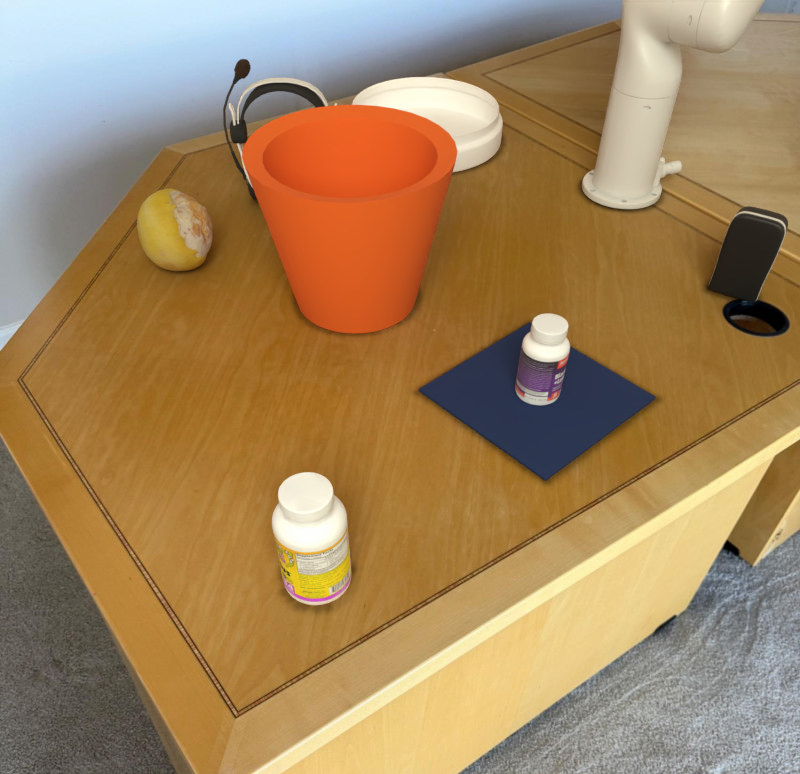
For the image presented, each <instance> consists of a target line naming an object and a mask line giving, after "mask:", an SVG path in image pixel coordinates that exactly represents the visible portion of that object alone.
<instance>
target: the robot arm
mask: <svg viewBox="0 0 800 774" xmlns="http://www.w3.org/2000/svg"><path fill="white" fill-rule="evenodd" d="M765 1H766V0H621V12H620V13H621V17H620V18H621V20H620V36H619V46H618V52H617V57H616V62H615V68H614V73H613V77H612V83H611V88H610V92H609V98H608V102H607V106H606V107H607V108H606V111H605V117H604V122H603V127H602V132H601V137H600V142H599V146H598V147H599V148H598V151H597V156H596V160H595V161H596V162H595V166H594V169H592V170H590V171H588V172H587V173H586V174H585V175H584V176H583V178H582V182H581V190H582V192H583V194H584V195H585V196H586V197H587V199H590V200H591V201H592V202H594V203H597V204H598V205H601V206H604V207H607V208H610V209H619V210H639V209H644V208H648V207H650V206H653V205H654V204H656V203H657V202H658V201H659V200H660V198H661V195H662V192H663V185H662V183H661V182H660V181H661V179H664V178H665V177H666V176H670V175H677V174H679V173H681V172H682V168H683V164H682V161H681V160H680V159H676V160H671V161H668V162H666V158H665V156H662V154H663V151H664V150H663V149H664V146H665V143H666V138H667V135H668V131H669V127H670V124H671V121H672V116H673V113H674V109H675V105H676V103H677V102H676V101H677V99H678V94H679V90H680V86H681V83H682V77H683V56H682V51H681V46H684V47H688V48H692V49H695V50H698V51H702V52H706V53H710V54H723V53H726V52H728V51H730V50H731V49H732V48H734V47H735V46H736V45H737V44H738V43H739V41H740V40H741V39H742V38H743V37H744V36H745V33H746V32H747V30H748V29H749V27H750V26H751V24H752V23H753V21H754V20H755V18H756V16H757V15H758V13H759V11H760V10H761V9H762V6H763V5H764V3H765ZM680 45H681V46H680Z"/></svg>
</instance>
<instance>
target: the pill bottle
mask: <svg viewBox="0 0 800 774" xmlns="http://www.w3.org/2000/svg"><path fill="white" fill-rule="evenodd" d="M531 323H532V326H531V332H529V333H528V334H527V335H526V336H525V337H524V339H523V343H522V348H521V355H520V361H519V367H518V373H517V379H516V386H515V390H516V393H517V395H518V397H519V398H520V399H521V400H523V401H524V402H526V403H529V404H532V405H548V404H551V403H553V402H554V401H556V400H557V399H558V397H559V395H560V392H561V388H562V383H563V379H564V374H565V370H566V365H567V361H568V357H569V352H570V346H571V343H570V340H569V339H568V337H567V336H568V331H569V322H568V321H567V319H566V318H565V317H563V316H562V315H559V314H555V313H551V312H546V313H540V314H538V315H536V316H535V317H533V319H532V321H531Z"/></svg>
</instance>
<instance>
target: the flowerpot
mask: <svg viewBox="0 0 800 774" xmlns="http://www.w3.org/2000/svg"><path fill="white" fill-rule="evenodd" d="M324 106H325V105H324ZM457 152H458V151H457V147H456V143H455V141H454V140H453V138H452V137H451V136H450V134H449V133H448V132H447V131H446V130H444V129H443V128H442V127H441V126H440V125H438V124H436V123H434V122H432V121H431V120H429V119H427V118H424V117H422V116H419V115H416V114H414V113H411V112H406V111H402V110H398V109H394V108H387V107H381V106H370V105H352V104H337V105H334V104H333V105H328V106H325V107H317V108H316V107H312V108H308V109H303V110H299V111H294V112H291V113H288V114H285V115H282V116H280V117H278V118H275V119H273V120H271V121H269V122H267V123H265V124H263V125H262V126H261V127H259V128H257V129H256V130H255V131H254V132H252V134H251V135H250V136H249V137H248V140H247V142H246V143H244V144H243V151H242V159H243V163H244V166H245V169H246V171H247V174H248V176H249V179H250V182H251V184H252V187H253V189H254V192H255V195H256V197H257V200H256V201H257V202H258V206H259V207H260V211H261V213H262V215H263V218H264V220H265V222H266V226H267V228H268V231H269V233H270V236H271V238H272V242H273V243H274V246H275V249H276V252H277V254H278V257H279V259H280V262H281V264H282V267H283V270H284V273H285V275H286V278H287V281H288V283H289V285H290V288H291V291H292V293H293V296H294V299H295V300H296V303H297V304H296V305H297V307H298V308H299V311H300V312H301V314H302V315H303V317H305V318H306V319H307V320H308V321H309V322H310V323H313V324H314V325H315V326H318V327H319V328H323V329H325V330H328V331H331V332H336V333H342V334H353V335H354V334H368V333H374V332H380V331H382V330H386V329H388V328H391V327H393V326H395V325H397V324H399V323H401V322H402V321H403V320H404V319H406V318H407V317H408V316H409V315H410V314H411V312H412V311H413V309H414V307H415V304H416V300H417V297H418V294H419V291H420V286H421V282H422V281H423V276H424V273H425V270H426V266H427V263H428V259H429V256H430V252H431V249H432V245H433V242H434V239H435V236H436V235H435V234H436V231H437V229H438V225H439V221H440V218H441V214H442V211H443V207H444V203H445V200H446V197H447V193H448V190H449V187H450V183H451V179H452V176H453V173H454V172H453V169H454V166H455V162H456V158H457Z"/></svg>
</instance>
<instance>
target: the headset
mask: <svg viewBox="0 0 800 774" xmlns="http://www.w3.org/2000/svg"><path fill="white" fill-rule="evenodd" d="M251 67H252V66H251V63H250V60H248V59H247V58H240V59H239V60H238V61H237V62H236V64H235V66H234V69H233V71H234V76H233V79H232V83H231V85H230V87H229V89H228V92H227V94H226V97H225V100H224V104H223V109H222V113H223V115H222V118H223V119H222V121H223V130H224V135H225V140H226V143H227V145H228V148H229V150H230V154H231V156H232V160H233V162H234V163H235V165H236V167H237V170H238V171H239V173H241V175H242V179H243V180H244V181H245V182H246V185H247V189H248V193H249V196H250V197H251V198H252V199H253V201H258V200H257V197H256V195H255V192H254V189H253V187H252V184H251V182H250V179H249V176H248V174H247V171H246V169H245V166H244V163H243V159H242V152H243V147H244V144H245V143H246V142H247V140H248V138H249V137H248V127H247V122H246V120H245V114H246V112H247V110H248V108H249V107H250V106H251V104H252V103H253V102H254V101H256V100H257V99H258V98H260V97H262V96H264V95H266V94H269V93H270V94H271V93H275V92H285V93H290V94H295V95H297V96H299V97H301V98H303V99H305V100H307V101H308V102H309V103H310V104H311V105H312V106H314V108H317V107H325V106H329V103H328V101H327V99H326V97H325V96H324V94H323V92H322V91H320V89H319V88H318V87H316V86H315V85H314V84H311V83H310V82H308V81H304V80H301V79H299V78H292V77H268V78H263V79H260V80H257V81H254V82H252V83H250V85H248V86H246V87H245V88H244V90H243V91H242V92H241V95H240V97H239V100H238V103H237V113H236V110H235V107H234V106H233V105H234V104H232V103H231V102H229V98H230V96H231V94H232V91H233V89H234V88H235V85H236V84H237V83H238V82H239V81H240V80H242V79H246V78H247V77H248V76H249V74H250V72H251ZM251 90H252V91H251ZM250 91H251V92H250ZM249 92H250V93H249ZM247 93H249V94H248V95H247V98H246V99H245V101H244V104H243V107H242V109H241V103H242V101H243V98H244V96H245V95H246V94H247ZM228 102H229V103H228ZM227 105H228V106H227ZM334 105H338V103H337V102H334V104H333V106H334ZM227 107H228V109H229V112H230V114H231V121H230V123H229V132H228V129H227V121H226V120H227V117H226V116H227V115H226V113H227V111H226V110H227ZM241 110H242V111H241ZM229 136H230V139H229ZM230 140H231V142H232V144H236V146H237V149H238V152H239V154H240V159H241V164H242V165H241V164H240V161H239V160H238V158H237V155H236V153H235V151H234V149H233V147H232V144H231V142H230Z"/></svg>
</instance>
